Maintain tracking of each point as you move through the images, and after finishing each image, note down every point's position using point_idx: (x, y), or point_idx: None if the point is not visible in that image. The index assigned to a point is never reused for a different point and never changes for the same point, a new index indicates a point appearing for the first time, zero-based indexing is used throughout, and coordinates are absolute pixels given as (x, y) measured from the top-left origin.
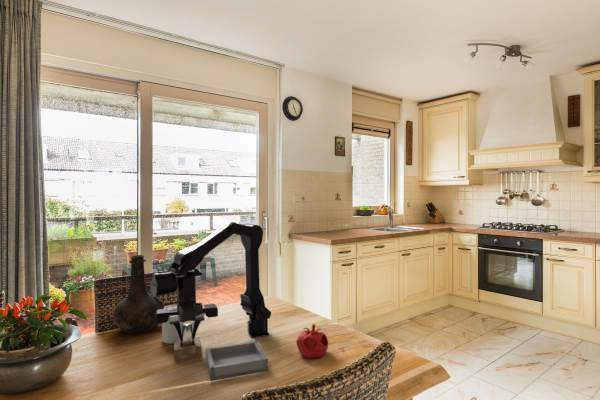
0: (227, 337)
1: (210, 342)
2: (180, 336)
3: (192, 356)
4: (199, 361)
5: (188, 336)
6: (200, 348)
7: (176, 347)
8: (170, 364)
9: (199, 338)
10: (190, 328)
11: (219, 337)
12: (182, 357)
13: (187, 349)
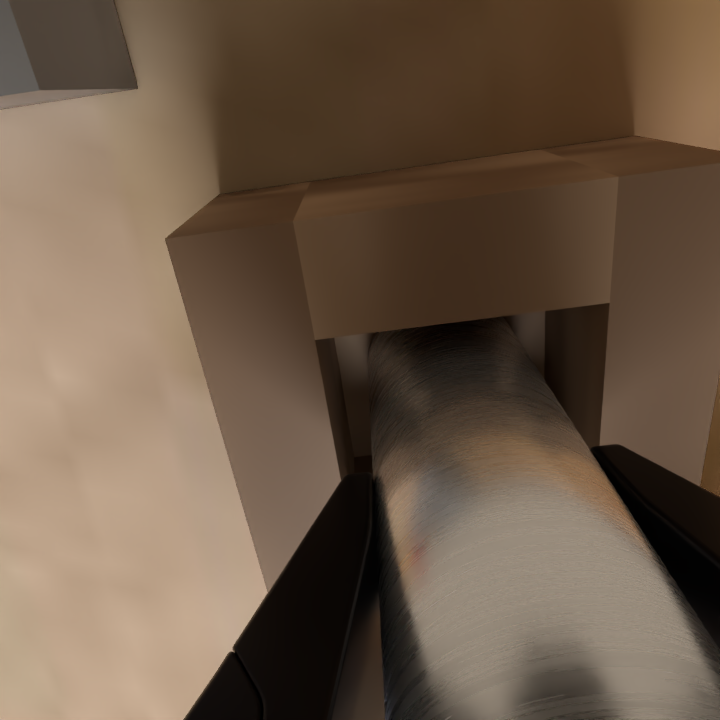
0: (14, 683)
1: (185, 610)
2: (693, 501)
3: (359, 180)
4: (233, 43)
5: (480, 469)
6: (199, 226)
7: (688, 297)
8: (707, 42)
9: (271, 586)
10: (460, 697)
11: (107, 695)
12: (525, 157)
13: (462, 193)
